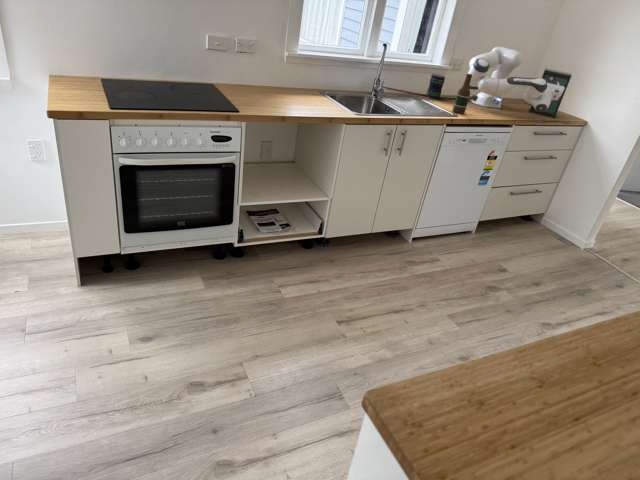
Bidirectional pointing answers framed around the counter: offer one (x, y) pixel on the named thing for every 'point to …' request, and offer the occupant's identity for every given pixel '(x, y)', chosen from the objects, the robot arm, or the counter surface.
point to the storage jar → (435, 86)
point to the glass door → (555, 103)
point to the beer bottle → (462, 96)
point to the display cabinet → (564, 92)
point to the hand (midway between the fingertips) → (550, 81)
